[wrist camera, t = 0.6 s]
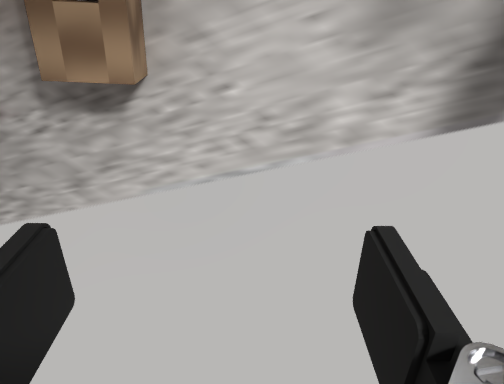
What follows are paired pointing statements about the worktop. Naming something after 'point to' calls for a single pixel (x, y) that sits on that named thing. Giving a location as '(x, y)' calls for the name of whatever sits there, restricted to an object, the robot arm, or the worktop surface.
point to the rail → (88, 40)
